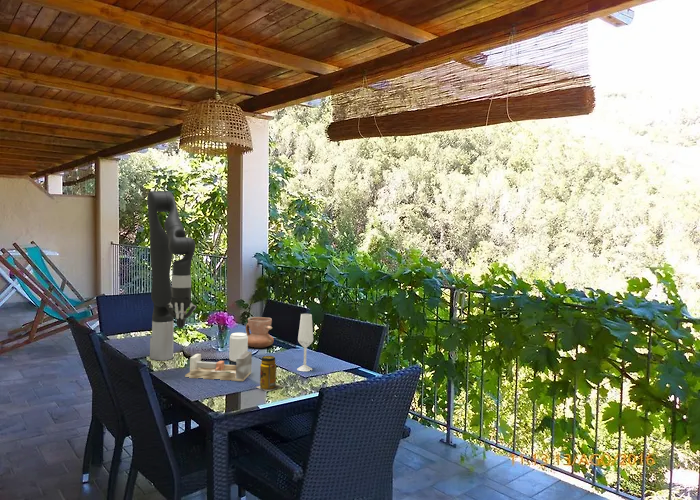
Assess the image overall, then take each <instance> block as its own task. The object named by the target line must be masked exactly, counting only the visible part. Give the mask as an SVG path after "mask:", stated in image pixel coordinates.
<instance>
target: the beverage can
mask: <svg viewBox="0 0 700 500" xmlns="http://www.w3.org/2000/svg"><path fill="white" fill-rule="evenodd" d="M228 347H229V351H228V352H229V355H228V360H229V361H231V362H234V363H236V359H237V358H238V357H239V356H240V355H241V354H242V353H243V352H245V351H248V348H249V346H248V336H247V333H246V332H233V333H231V334H230V336H229V346H228ZM248 352H249V351H248Z"/></svg>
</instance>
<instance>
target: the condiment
mask: <svg viewBox="0 0 700 500" xmlns="http://www.w3.org/2000/svg"><path fill="white" fill-rule="evenodd" d="M259 368H260V373H259V374H260V375H259V379H260V380H259V386H256V388H257V389H259V390H261V391H262V390H263V391H265V392H270V391H274V390H277V389H280V388H283V387H284V385H280V384H277V363H276V357H275V356H273V355H264V356H262V357H261V363H260V367H259Z"/></svg>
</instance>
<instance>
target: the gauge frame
mask: <svg viewBox="0 0 700 500" xmlns="http://www.w3.org/2000/svg"><path fill="white" fill-rule="evenodd" d="M252 357H253V351H245V352H243V353H242V354H241V355H240V356H239V357H238V358H237V359H236V362H235V364H236V365H235V364H224V369H222V370H221V371H215V368H200V369H199V370H190V369H189V371H188V372H187V373H186V374H184V378H185V377H189V378H188V379H198V378H203V379H202V380H214V379H220V380H219V381H230V380H231V381H232V382H244V381H245V380H246V379H247V378H248V377H249V376H250V375H251V374H252V363H253V362H252V360H253V359H252Z"/></svg>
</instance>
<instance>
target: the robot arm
mask: <svg viewBox="0 0 700 500" xmlns="http://www.w3.org/2000/svg"><path fill="white" fill-rule="evenodd" d="M175 199H176V198H175V196H174V193H172V192H171V191H169V190H167V191H166V190H150V191H149V192H148V193H147V198H146V201H147V214H148V223H149V254H150V255H149V256H150V264H151V265H150V266H151V272H152V273H151V275H152V278H151V279H152V282H151V295H150V298H151V301H152V303H153V309H152V310H153V311H152V316H151V317H152V319H151V325H152V326H151V337H150V339H149V359H151V360H155V361H168V360H171V359H173V358H174V334H175V333H174V330H175V329H174V324H175V323H174V320H175V319H176V327H177V328H178V329H183V328H184V327H185V326H186V319H187V318H189V317H190V316H191V315H192V314H193V312H194V311H195V310H196V309H197V305H196V304H194V303H193V301H192V295H191V294H192V291H191V290H192V277H191V271H192V270H191V268H192V267H191V265H192V261H193V257H194V254H195V251H196V241H195V240H194V239H193V238H192V237H189V236H188V237H187V236H186V230H185V228H184V227H183V224H182V222H181V218H180V216H179V215H180V214H179V211H178V205H177V203H176V202H177V201H176V200H175ZM166 212H168V215H167V217H166V219H165V221H164V228H163V226H162V224H161V222H160V220H159V216H158V213H166ZM173 255H175V256H176V255H177V256H179V255H183V257H182V258H180V259H177V260H174V261H173ZM172 261H173V262H172ZM171 267H172V278H170V277H171V276H170V274H171ZM170 279H171V280H170ZM188 308H189V310H188ZM187 310H188V311H187Z"/></svg>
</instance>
